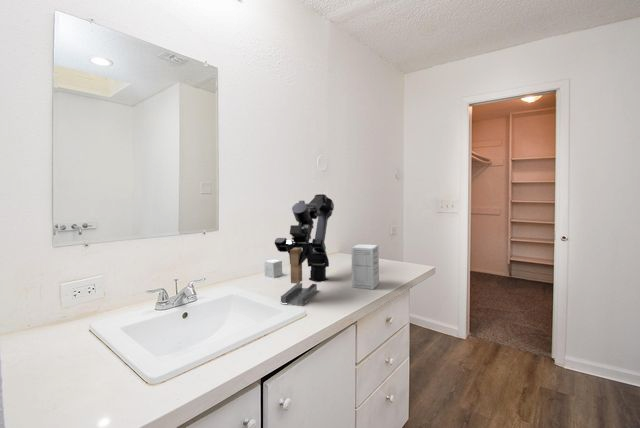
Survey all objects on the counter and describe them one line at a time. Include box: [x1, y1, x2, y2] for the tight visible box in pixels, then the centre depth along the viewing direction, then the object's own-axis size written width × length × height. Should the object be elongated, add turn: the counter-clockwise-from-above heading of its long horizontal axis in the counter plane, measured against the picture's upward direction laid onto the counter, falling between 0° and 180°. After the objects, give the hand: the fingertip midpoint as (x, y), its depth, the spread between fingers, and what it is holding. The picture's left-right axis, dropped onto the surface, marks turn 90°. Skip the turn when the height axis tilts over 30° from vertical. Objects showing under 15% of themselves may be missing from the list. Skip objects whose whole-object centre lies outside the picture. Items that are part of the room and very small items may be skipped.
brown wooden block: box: [289, 248, 303, 285], centre depth 114 cm, size 4×3×12 cm, turn 165°
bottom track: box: [280, 282, 318, 306], centre depth 118 cm, size 18×8×3 cm, turn 165°
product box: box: [264, 258, 283, 279], centre depth 150 cm, size 6×6×7 cm
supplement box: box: [351, 243, 380, 290], centre depth 131 cm, size 10×9×17 cm
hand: (295, 264), depth 112 cm, fingers closed on brown wooden block, 3 cm apart
